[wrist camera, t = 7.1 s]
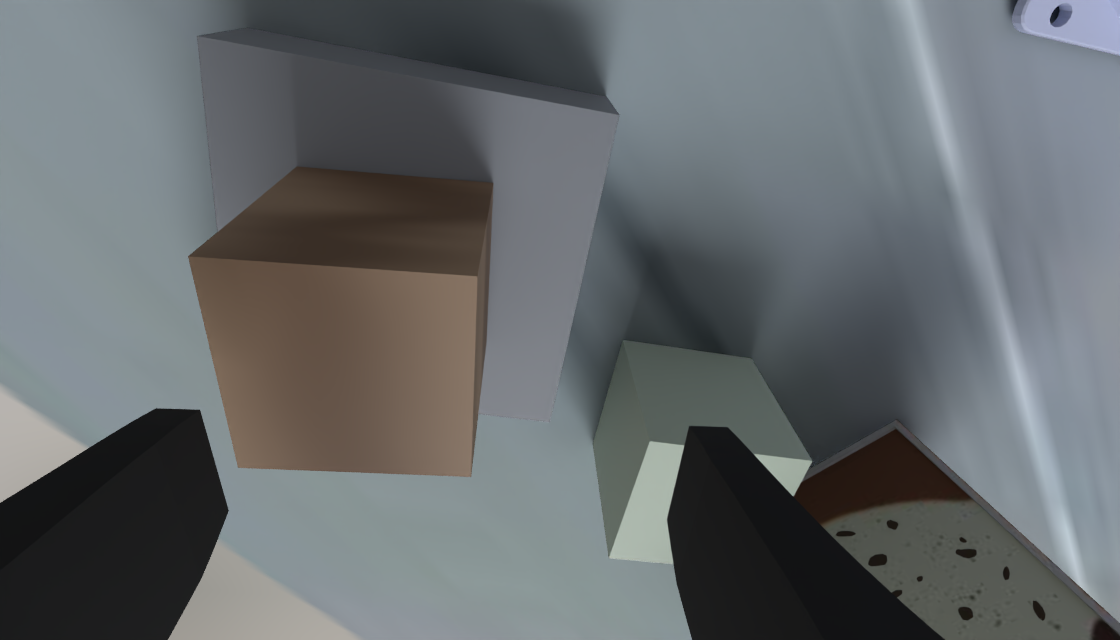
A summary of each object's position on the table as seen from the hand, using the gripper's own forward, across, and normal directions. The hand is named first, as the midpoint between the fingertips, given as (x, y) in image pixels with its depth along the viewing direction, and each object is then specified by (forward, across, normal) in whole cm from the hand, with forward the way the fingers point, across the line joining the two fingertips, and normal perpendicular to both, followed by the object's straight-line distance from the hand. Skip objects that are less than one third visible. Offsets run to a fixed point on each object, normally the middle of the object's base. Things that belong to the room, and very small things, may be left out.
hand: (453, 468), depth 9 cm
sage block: (+10, -6, +6) cm, 13 cm away
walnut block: (+7, +2, 0) cm, 7 cm away
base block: (+10, +2, 0) cm, 10 cm away
